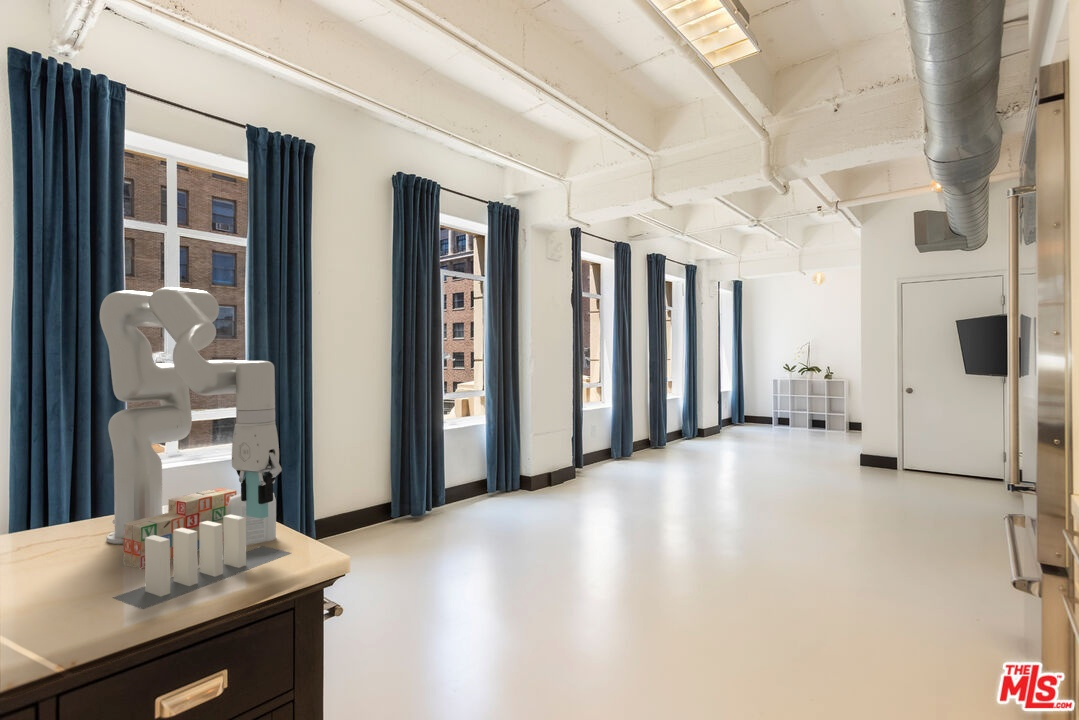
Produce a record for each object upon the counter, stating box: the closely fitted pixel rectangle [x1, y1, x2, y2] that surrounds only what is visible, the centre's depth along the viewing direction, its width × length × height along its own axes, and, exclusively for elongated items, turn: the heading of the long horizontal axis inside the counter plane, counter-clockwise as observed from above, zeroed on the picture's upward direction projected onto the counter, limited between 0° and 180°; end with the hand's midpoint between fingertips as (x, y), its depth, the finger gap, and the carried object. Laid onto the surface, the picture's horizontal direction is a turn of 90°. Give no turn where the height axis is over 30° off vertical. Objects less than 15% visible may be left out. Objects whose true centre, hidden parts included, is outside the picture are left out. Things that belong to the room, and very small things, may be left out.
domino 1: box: [144, 535, 171, 596], centre depth 101 cm, size 5×2×10 cm, turn 63°
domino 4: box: [223, 514, 247, 568], centre depth 114 cm, size 5×2×10 cm, turn 63°
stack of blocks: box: [123, 487, 238, 569], centre depth 123 cm, size 21×6×12 cm, turn 154°
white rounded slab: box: [227, 492, 277, 546], centre depth 129 cm, size 10×4×12 cm, turn 123°
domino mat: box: [112, 545, 292, 610], centre depth 110 cm, size 10×30×1 cm, turn 153°
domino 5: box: [246, 471, 268, 519], centre depth 119 cm, size 5×2×10 cm, turn 63°
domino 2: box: [173, 528, 199, 586], centre depth 105 cm, size 5×2×10 cm, turn 63°
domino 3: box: [199, 521, 224, 577], centre depth 110 cm, size 5×2×10 cm, turn 63°
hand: (257, 500), depth 119 cm, fingers closed on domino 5, 4 cm apart
